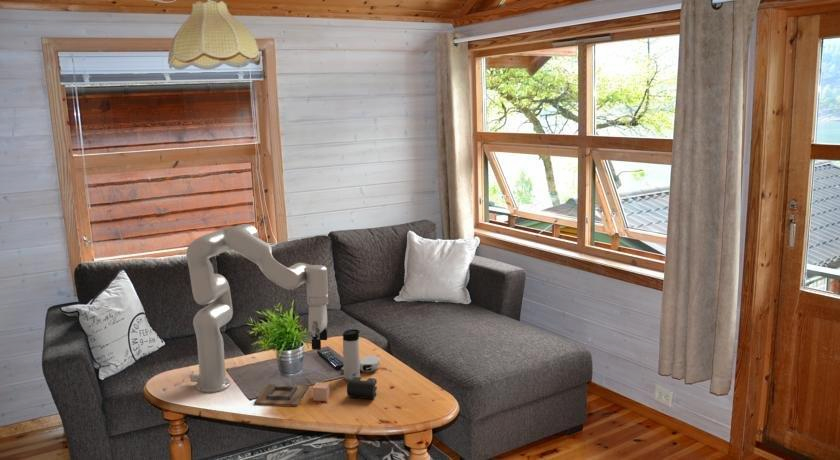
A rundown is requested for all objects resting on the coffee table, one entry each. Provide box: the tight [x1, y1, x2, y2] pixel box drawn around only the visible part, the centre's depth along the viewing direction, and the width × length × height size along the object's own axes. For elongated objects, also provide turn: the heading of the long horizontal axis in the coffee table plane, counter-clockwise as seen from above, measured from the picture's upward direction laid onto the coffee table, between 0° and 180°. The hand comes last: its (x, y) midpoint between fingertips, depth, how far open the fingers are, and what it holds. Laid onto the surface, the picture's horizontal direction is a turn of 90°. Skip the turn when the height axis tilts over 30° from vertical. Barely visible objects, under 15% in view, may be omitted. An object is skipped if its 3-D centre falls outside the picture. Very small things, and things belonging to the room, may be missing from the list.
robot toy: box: [340, 354, 381, 373], centre depth 281 cm, size 12×4×15 cm
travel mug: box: [342, 329, 361, 382], centre depth 270 cm, size 6×7×20 cm
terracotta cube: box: [312, 381, 331, 402], centre depth 255 cm, size 5×5×5 cm
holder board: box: [253, 383, 310, 407], centre depth 256 cm, size 16×16×2 cm
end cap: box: [346, 376, 378, 400], centre depth 255 cm, size 10×7×7 cm
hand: (319, 344), depth 251 cm, fingers open, 9 cm apart
